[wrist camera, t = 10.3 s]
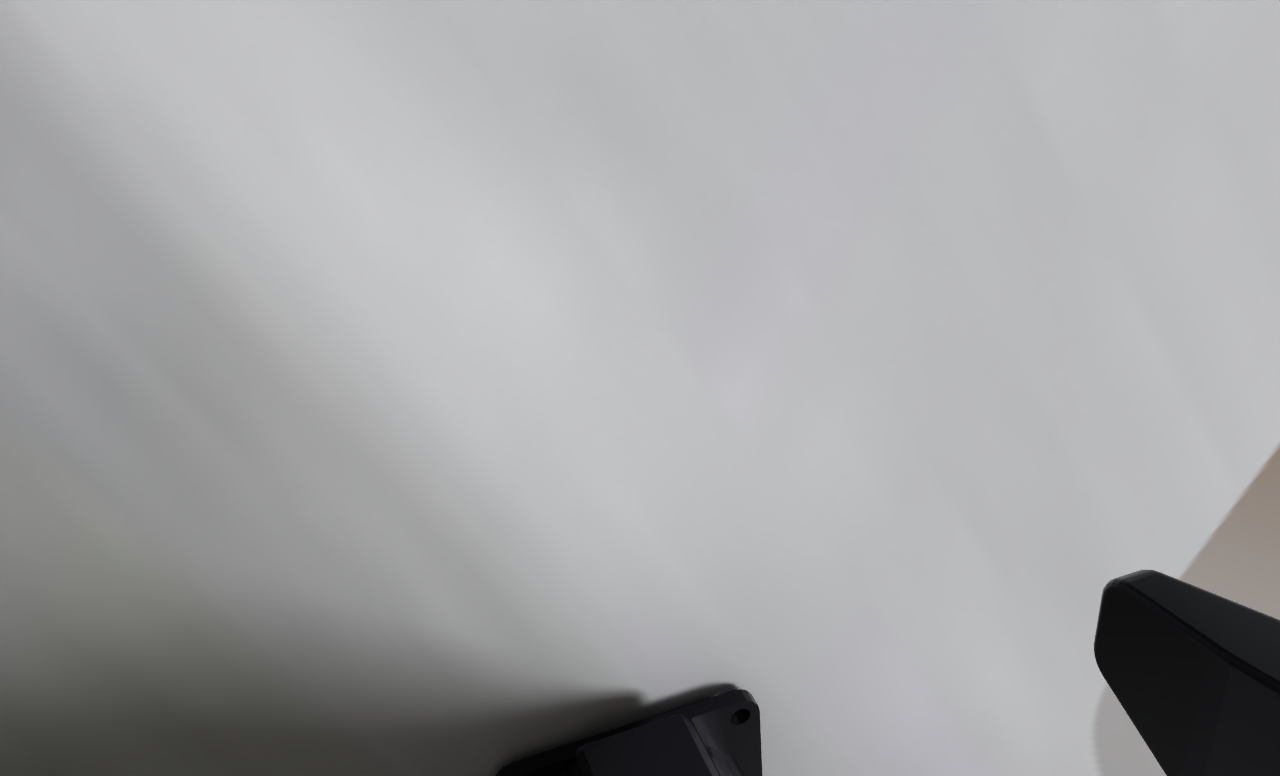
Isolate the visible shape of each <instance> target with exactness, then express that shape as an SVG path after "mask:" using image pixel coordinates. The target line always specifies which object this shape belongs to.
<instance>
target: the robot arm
mask: <svg viewBox="0 0 1280 776" xmlns="http://www.w3.org/2000/svg"><path fill="white" fill-rule="evenodd" d="M1094 653H1095V658H1096V662H1097V665H1098V667H1099V669H1100V671H1101V673H1102V675H1103V677H1104V678H1105V680H1106V681H1107V683H1108V684H1109V686H1110V688H1111V689H1112V691H1113V692H1114V694H1115V695H1116V697H1117V698H1118V700H1119V702H1120V703H1121V705H1122V706H1123V708H1124V709H1125V711H1126V713H1127V714H1128V716H1129V717H1130V719H1131V720H1132V722H1133V724H1134V725H1135V727H1136V728H1137V730H1138V731H1139V733H1140V735H1141V736H1142V738H1143V739H1144V741H1145V742H1146V744H1147V745H1148V747H1149V749H1150V750H1151V752H1152V753H1153V755H1154V756H1155V758H1156V760H1157V761H1158V763H1159V764H1160V766H1161V767H1162V769H1163V770H1164V772H1165V774H1166V775H1167V776H1280V620H1278V619H1276V618H1273V617H1271V616H1268V615H1266V614H1263V613H1261V612H1258V611H1256V610H1253V609H1251V608H1248V607H1246V606H1243V605H1241V604H1238V603H1236V602H1233V601H1231V600H1228V599H1226V598H1223V597H1221V596H1218V595H1216V594H1213V593H1210V592H1208V591H1206V590H1203V589H1200V588H1198V587H1196V586H1193V585H1191V584H1188V583H1185V582H1183V581H1180V580H1178V579H1175V578H1173V577H1170V576H1168V575H1165V574H1163V573H1160V572H1157V571H1154V570H1141V571H1137V572H1134V573H1131V574H1128V575H1125V576H1122V577H1118V578H1115V579H1113V580H1111V581H1109V582H1108V584H1107V585H1106V586H1105V588H1104V590H1103V593H1102V598H1101V605H1100V611H1099V617H1098V623H1097V629H1096V635H1095V641H1094ZM738 710H739V711H738ZM736 711H737V712H736ZM496 776H762V759H761V734H760V710H759V707H758V705H757V703H756V701H755V700H754V698H753V696H752V695H751V694H750V693H749V692H748V691H746V690H741V689H740V690H734V691H730V692H727V693H724V694H721V695H718V696H715V697H712V698H709V699H706V700H703V701H700V702H697V703H694V704H691V705H687V706H684V707H681V708H678V709H675V710H672V711H669V712H666V713H663V714H660V715H657V716H654V717H651V718H648V719H644V720H641V721H638V722H635V723H632V724H629V725H626V726H623V727H620V728H617V729H614V730H611V731H608V732H605V733H601V734H598V735H595V736H592V737H589V738H586V739H583V740H580V741H577V742H574V743H571V744H568V745H565V746H562V747H558V748H555V749H552V750H549V751H546V752H543V753H540V754H537V755H534V756H531V757H528V758H525V759H522V760H519V761H515V762H512V763H510V764H508V765H506V766H504V767H503V768H502V769H501V770H500V771H498V773H497V775H496Z"/></svg>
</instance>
